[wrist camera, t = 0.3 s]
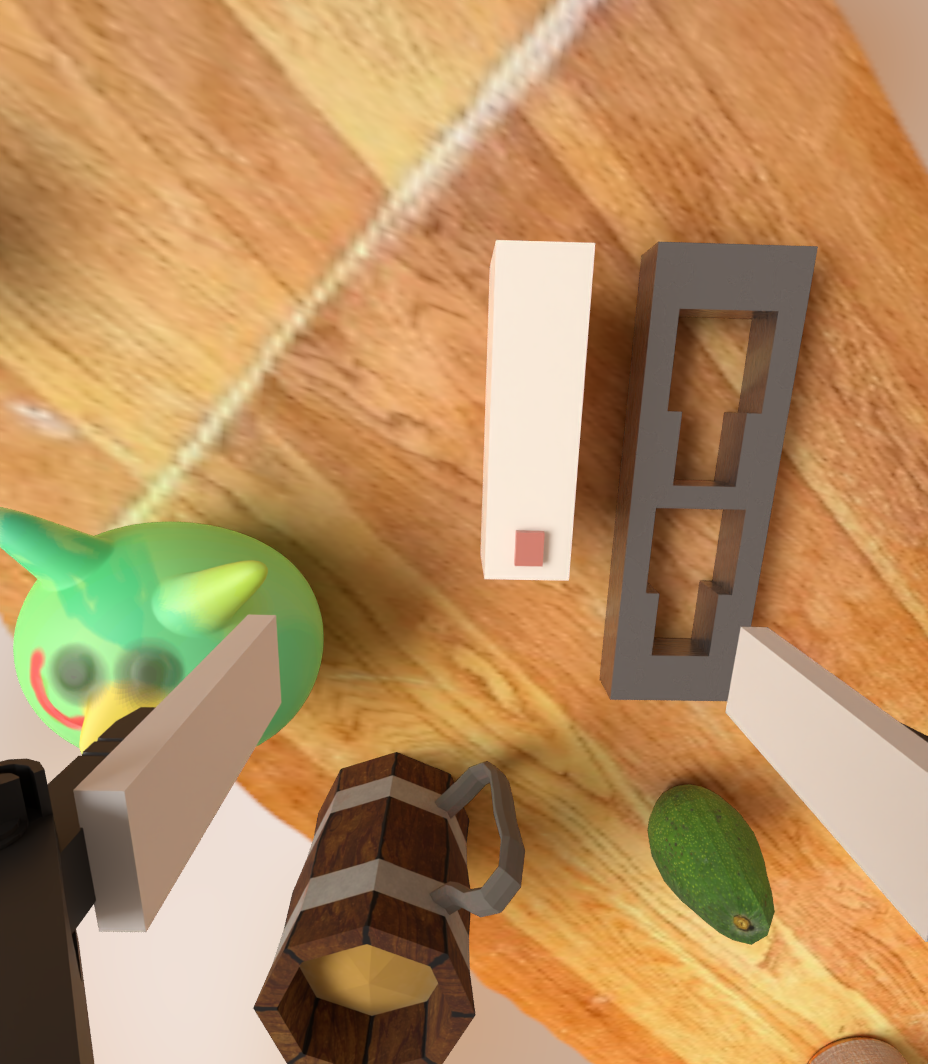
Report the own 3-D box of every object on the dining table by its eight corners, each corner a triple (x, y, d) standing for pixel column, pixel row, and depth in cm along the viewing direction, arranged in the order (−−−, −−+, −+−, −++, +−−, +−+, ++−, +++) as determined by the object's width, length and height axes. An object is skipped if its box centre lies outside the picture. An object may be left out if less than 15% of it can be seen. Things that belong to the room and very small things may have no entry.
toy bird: (116, 676, 42) (-61, 818, 27) (109, 473, 38) (-104, 516, 23) (335, 700, 42) (274, 850, 28) (352, 504, 38) (289, 564, 24)
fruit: (642, 846, 47) (703, 993, 35) (623, 776, 45) (681, 907, 33) (728, 823, 46) (819, 965, 34) (712, 752, 44) (803, 877, 33)
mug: (390, 900, 48) (362, 1118, 33) (286, 812, 45) (206, 1006, 31) (553, 782, 45) (599, 965, 30) (451, 680, 42) (448, 827, 28)
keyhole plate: (641, 255, 34) (658, 241, 31) (787, 259, 35) (817, 246, 32) (599, 679, 42) (610, 699, 39) (718, 680, 42) (737, 701, 40)
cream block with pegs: (485, 283, 35) (496, 237, 25) (558, 285, 35) (597, 239, 25) (478, 537, 39) (484, 581, 29) (542, 538, 39) (570, 583, 29)
